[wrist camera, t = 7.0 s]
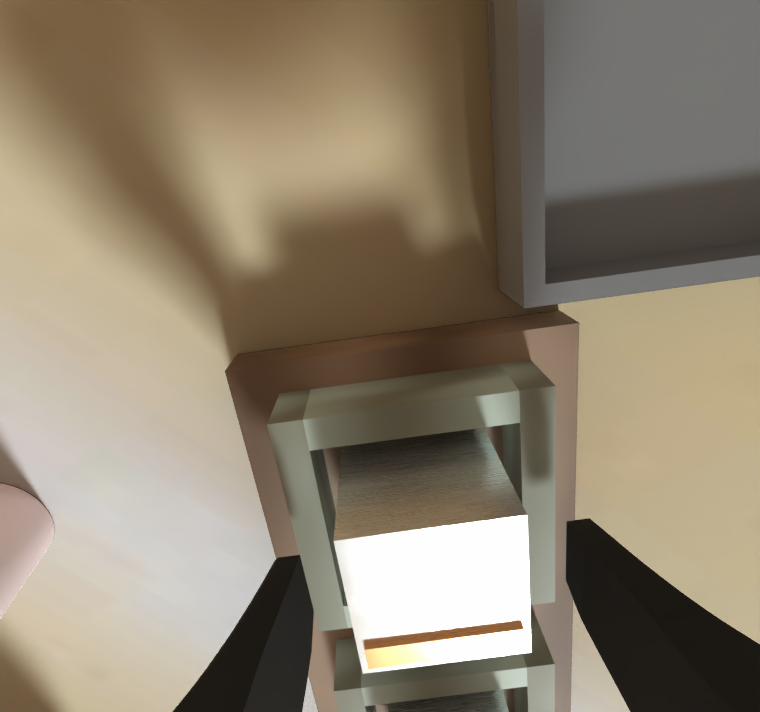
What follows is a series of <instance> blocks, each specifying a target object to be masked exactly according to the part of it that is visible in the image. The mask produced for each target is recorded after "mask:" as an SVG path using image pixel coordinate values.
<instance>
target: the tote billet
mask: <svg viewBox="0 0 760 712" xmlns="http://www.w3.org/2000/svg"><path fill="white" fill-rule="evenodd" d="M334 545H335V550H336V554H337V559H338V563H339V568H340V573H341V577H342V582H343V586H344V591H345V595H346V600H347V604H348V609H349V613H350V618H351V622H352V627H353V631H354V636H355V640H356V645H357V650H358V654H359V659H360V663H361V668H362V672H363V674H365V673H373V672H381V671H389V670H396V669H404V668H412V667H420V666H427V665H435V664H443V663H451V662H459V661H466V660H474V659H482V658H490V657H497V656H505V655H513V654H521V653H529V652H531V620H530V587H529V554H528V521H527V513H526V511H525V509H524V507H523V505H522V503H521V501H520V499H519V497H518V495H517V493H516V491H515V489H514V487H513V485H512V483H511V481H510V479H509V477H508V475H507V473H506V471H505V469H504V467H503V465H502V463H501V461H500V459H499V457H498V455H497V453H496V451H495V449H494V447H493V445H492V443H491V441H490V439H489V437H488V435H487V433H486V431H485V429H484V428H477V429H469V430H462V431H454V432H447V433H439V434H432V435H424V436H417V437H409V438H402V439H394V440H387V441H379V442H372V443H364V444H357V445H349V446H342V449H341V461H340V472H339V484H338V495H337V507H336V518H335V530H334Z"/></svg>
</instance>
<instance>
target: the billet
mask: <svg viewBox="0 0 760 712" xmlns="http://www.w3.org/2000/svg"><path fill="white" fill-rule="evenodd" d="M389 712H509V711H508V707H507V703H506V700H505V696H504V693H503V689H502V690H494V691H485V692H477V693H469V694H461V695H453V696H445V697H437V698H429V699H421V700H412V701H404V702H396V703H389Z"/></svg>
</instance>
